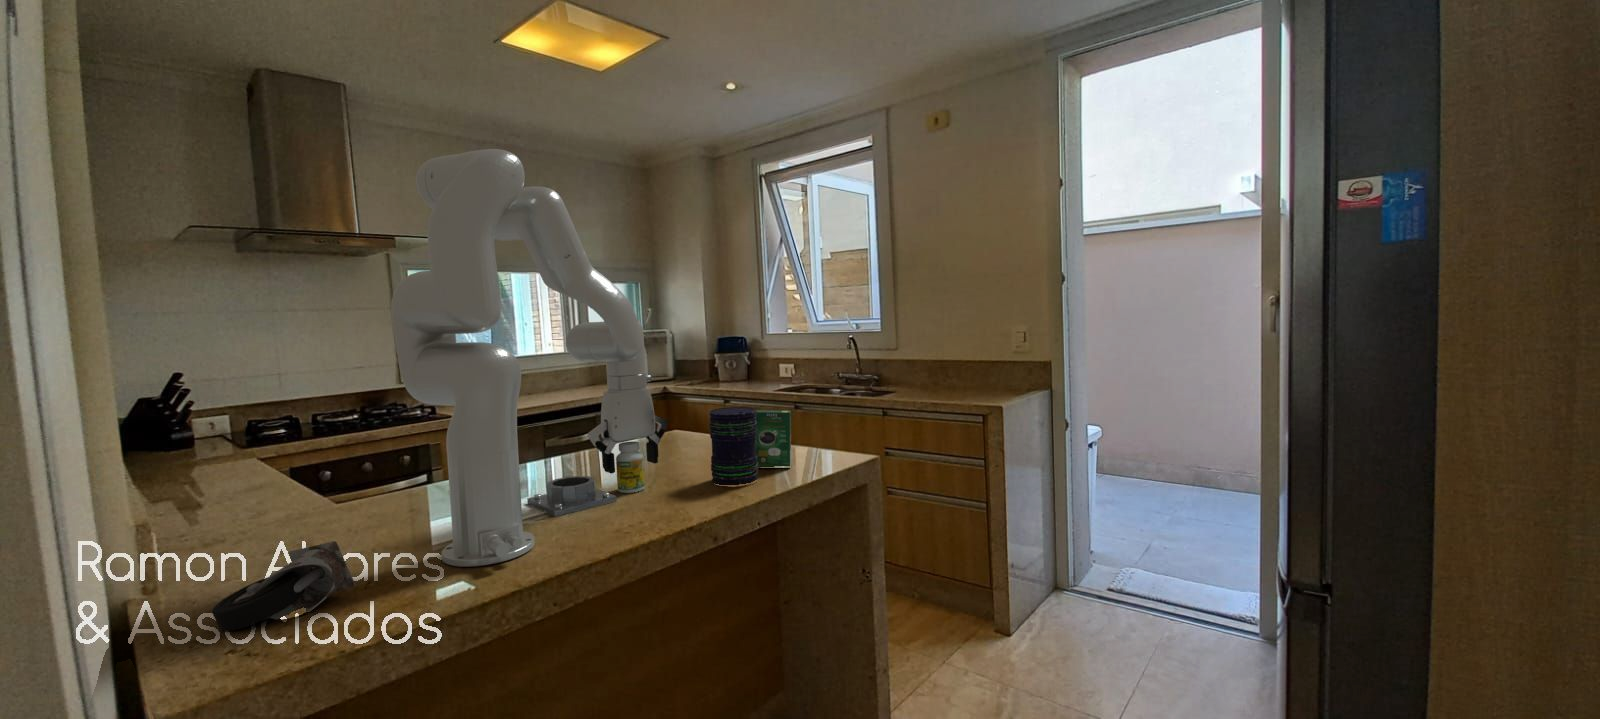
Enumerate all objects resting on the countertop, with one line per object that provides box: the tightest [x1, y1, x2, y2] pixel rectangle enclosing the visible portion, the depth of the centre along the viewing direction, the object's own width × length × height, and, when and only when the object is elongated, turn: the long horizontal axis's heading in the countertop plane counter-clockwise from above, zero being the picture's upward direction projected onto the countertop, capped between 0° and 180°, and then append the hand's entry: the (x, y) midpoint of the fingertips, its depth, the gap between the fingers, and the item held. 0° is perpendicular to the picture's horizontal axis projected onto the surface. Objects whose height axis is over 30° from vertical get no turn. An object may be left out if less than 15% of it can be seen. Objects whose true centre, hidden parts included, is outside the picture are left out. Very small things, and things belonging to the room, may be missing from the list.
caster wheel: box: [211, 540, 356, 632], centre depth 77 cm, size 7×11×10 cm
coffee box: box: [755, 409, 792, 467], centre depth 143 cm, size 8×3×13 cm, turn 85°
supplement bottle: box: [615, 440, 646, 494], centre depth 128 cm, size 5×5×10 cm
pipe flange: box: [526, 475, 618, 518], centre depth 121 cm, size 12×12×4 cm
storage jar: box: [709, 406, 759, 485], centre depth 133 cm, size 10×10×15 cm
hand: (631, 467), depth 129 cm, fingers open, 9 cm apart
